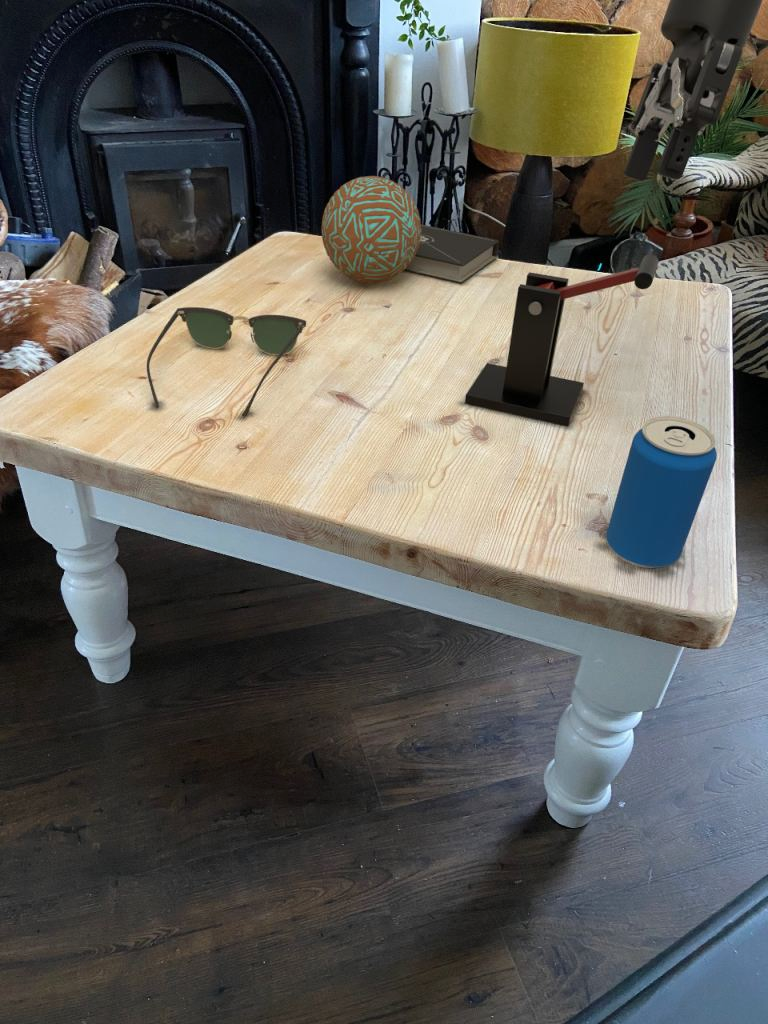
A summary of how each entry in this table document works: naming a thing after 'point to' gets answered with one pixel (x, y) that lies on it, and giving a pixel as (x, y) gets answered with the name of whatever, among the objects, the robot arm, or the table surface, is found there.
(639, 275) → the lever
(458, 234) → the book
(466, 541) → the table surface
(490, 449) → the table surface
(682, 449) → the beverage can
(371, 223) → the decorative sphere
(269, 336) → the sunglasses
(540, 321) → the bracket
